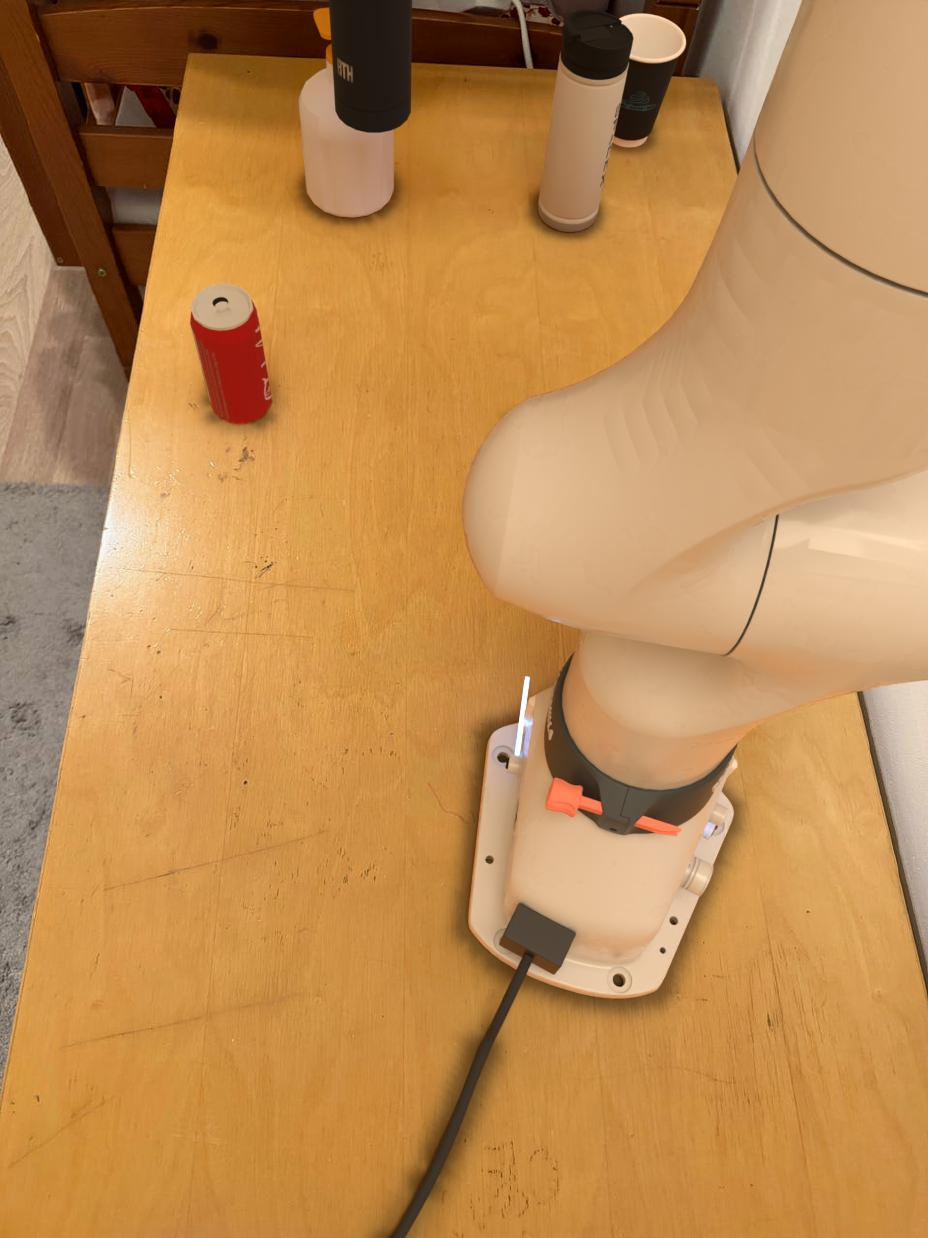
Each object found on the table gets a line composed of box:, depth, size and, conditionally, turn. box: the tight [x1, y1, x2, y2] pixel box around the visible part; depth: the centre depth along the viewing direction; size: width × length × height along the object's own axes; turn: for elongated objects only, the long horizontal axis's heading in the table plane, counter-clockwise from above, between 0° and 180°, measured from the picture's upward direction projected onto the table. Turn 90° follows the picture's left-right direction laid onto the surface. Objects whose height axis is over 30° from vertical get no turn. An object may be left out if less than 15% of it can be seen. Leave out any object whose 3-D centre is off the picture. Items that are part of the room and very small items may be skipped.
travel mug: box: [537, 9, 634, 233], centre depth 96 cm, size 6×7×20 cm
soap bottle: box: [298, 7, 395, 219], centre depth 94 cm, size 9×9×25 cm
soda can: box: [189, 282, 273, 424], centre depth 86 cm, size 6×6×12 cm
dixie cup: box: [612, 13, 687, 148], centre depth 107 cm, size 8×8×11 cm
